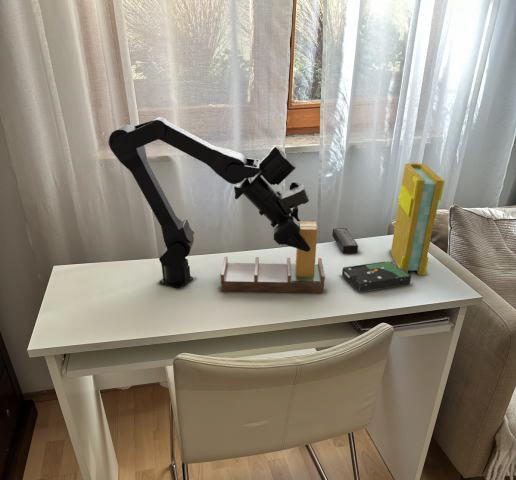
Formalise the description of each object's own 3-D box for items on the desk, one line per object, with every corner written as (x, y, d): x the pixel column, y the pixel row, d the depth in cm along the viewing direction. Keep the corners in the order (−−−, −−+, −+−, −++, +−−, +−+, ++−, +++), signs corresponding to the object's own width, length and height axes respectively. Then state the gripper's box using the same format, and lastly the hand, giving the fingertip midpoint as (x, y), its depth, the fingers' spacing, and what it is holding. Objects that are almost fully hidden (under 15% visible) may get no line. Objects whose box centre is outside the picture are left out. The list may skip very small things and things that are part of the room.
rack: (221, 291, 125) (220, 274, 123) (225, 273, 135) (224, 256, 132) (323, 293, 125) (324, 276, 122) (320, 274, 134) (321, 258, 131)
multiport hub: (342, 253, 146) (343, 246, 144) (332, 235, 158) (332, 228, 156) (357, 253, 146) (358, 245, 145) (345, 234, 158) (346, 227, 157)
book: (425, 274, 134) (444, 180, 120) (400, 274, 134) (417, 180, 120) (410, 249, 148) (426, 163, 134) (387, 249, 148) (401, 162, 134)
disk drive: (359, 294, 125) (410, 284, 129) (360, 284, 123) (412, 275, 127) (341, 276, 133) (389, 268, 137) (341, 267, 132) (391, 259, 135)
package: (296, 276, 126) (298, 229, 119) (295, 267, 130) (297, 221, 123) (314, 277, 125) (317, 229, 118) (312, 267, 130) (315, 221, 123)
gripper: (290, 185, 106) (337, 235, 112) (288, 163, 122) (329, 208, 128) (253, 220, 111) (300, 267, 117) (256, 195, 126) (297, 237, 132)
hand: (308, 243), depth 123 cm, fingers open, 9 cm apart
